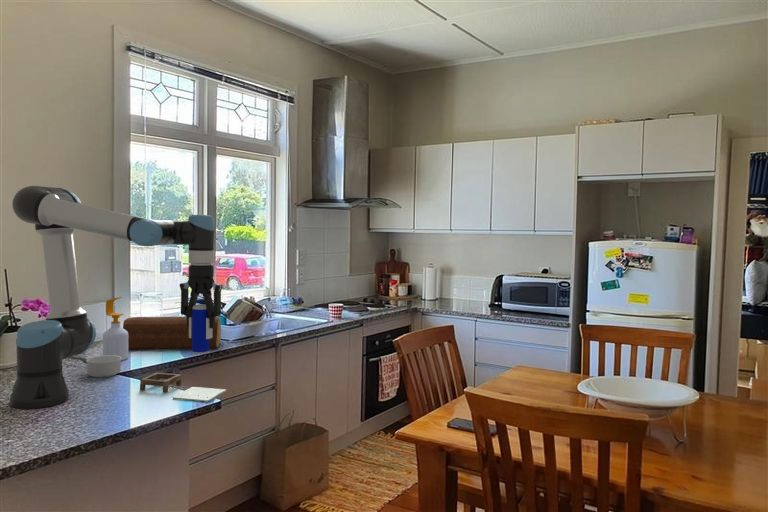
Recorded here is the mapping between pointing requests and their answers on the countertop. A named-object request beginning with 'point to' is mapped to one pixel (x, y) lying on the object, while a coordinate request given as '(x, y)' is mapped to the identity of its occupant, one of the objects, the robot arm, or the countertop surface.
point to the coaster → (200, 394)
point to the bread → (164, 333)
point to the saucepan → (101, 365)
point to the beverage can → (199, 329)
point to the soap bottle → (115, 335)
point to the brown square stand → (156, 381)
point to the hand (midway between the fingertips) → (200, 337)
